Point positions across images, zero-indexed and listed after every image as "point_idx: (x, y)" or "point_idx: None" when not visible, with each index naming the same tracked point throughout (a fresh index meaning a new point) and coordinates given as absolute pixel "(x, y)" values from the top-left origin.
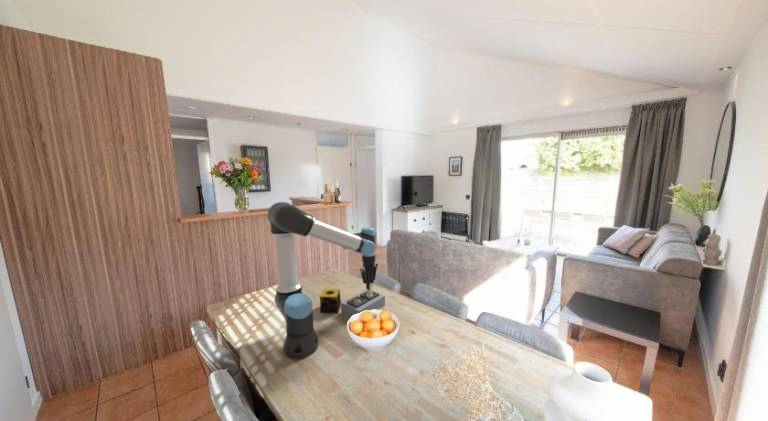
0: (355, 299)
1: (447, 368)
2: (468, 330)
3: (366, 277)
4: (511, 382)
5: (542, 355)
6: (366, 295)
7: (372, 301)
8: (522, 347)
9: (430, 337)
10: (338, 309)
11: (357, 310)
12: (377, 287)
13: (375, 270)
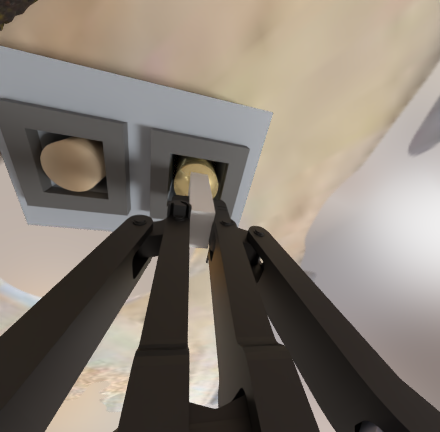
0: (71, 148)
1: (100, 372)
2: (215, 360)
3: (106, 324)
4: None
5: (206, 399)
6: (175, 175)
7: None
8: (210, 391)
9: None
10: (3, 11)
11: (24, 214)
12: (392, 87)
13: (306, 363)
